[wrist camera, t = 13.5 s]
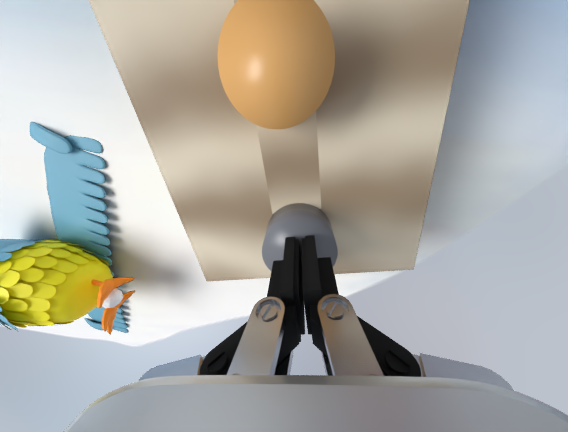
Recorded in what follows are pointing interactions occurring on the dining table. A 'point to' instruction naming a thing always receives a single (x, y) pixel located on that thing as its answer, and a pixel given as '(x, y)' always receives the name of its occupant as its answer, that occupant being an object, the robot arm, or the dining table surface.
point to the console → (294, 128)
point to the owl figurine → (64, 247)
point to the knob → (298, 232)
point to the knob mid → (276, 60)
